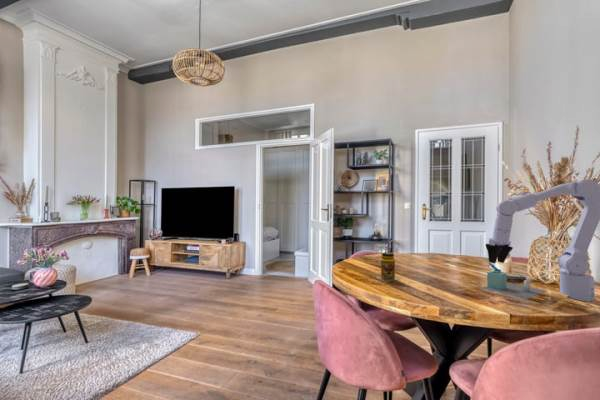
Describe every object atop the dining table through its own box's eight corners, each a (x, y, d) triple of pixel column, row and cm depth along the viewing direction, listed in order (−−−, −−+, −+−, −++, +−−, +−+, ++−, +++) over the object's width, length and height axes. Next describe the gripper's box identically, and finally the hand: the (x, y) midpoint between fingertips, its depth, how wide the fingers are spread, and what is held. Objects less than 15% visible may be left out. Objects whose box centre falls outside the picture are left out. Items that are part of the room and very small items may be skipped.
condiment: (387, 281, 136) (387, 255, 136) (374, 277, 144) (374, 252, 144) (399, 279, 140) (399, 253, 140) (386, 276, 147) (386, 251, 147)
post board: (546, 293, 119) (546, 280, 119) (527, 301, 109) (527, 287, 109) (501, 284, 132) (501, 272, 132) (480, 290, 122) (480, 278, 122)
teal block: (506, 287, 123) (506, 273, 123) (500, 289, 120) (500, 274, 120) (493, 285, 127) (493, 270, 127) (487, 286, 124) (487, 272, 124)
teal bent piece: (511, 279, 134) (492, 261, 138) (500, 288, 136) (482, 270, 140) (507, 277, 144) (489, 261, 148) (497, 285, 145) (479, 269, 149)
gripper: (499, 228, 132) (494, 259, 132) (483, 227, 124) (477, 260, 124) (518, 232, 126) (512, 264, 126) (502, 230, 118) (496, 265, 119)
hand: (496, 262), depth 125 cm, fingers open, 7 cm apart
